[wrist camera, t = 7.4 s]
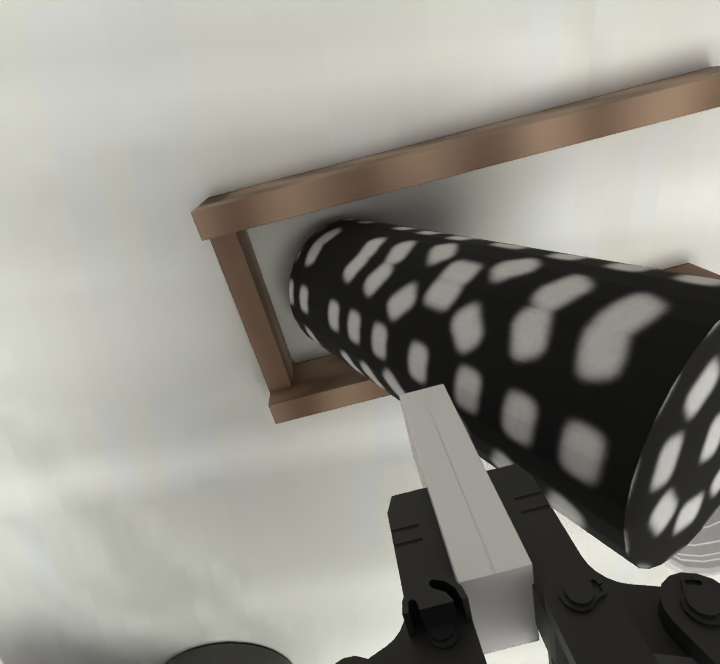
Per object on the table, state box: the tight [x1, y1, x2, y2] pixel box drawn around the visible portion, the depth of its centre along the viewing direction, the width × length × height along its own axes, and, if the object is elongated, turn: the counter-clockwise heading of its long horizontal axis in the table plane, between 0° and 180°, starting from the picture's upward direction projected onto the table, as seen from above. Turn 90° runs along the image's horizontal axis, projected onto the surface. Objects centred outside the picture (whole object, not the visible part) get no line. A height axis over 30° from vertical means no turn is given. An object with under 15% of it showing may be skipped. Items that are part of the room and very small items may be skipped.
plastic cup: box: [664, 506, 720, 576], centre depth 33 cm, size 11×11×12 cm
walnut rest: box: [191, 66, 720, 424], centre depth 28 cm, size 31×14×4 cm, turn 103°
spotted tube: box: [289, 218, 720, 569], centre depth 20 cm, size 8×8×20 cm
